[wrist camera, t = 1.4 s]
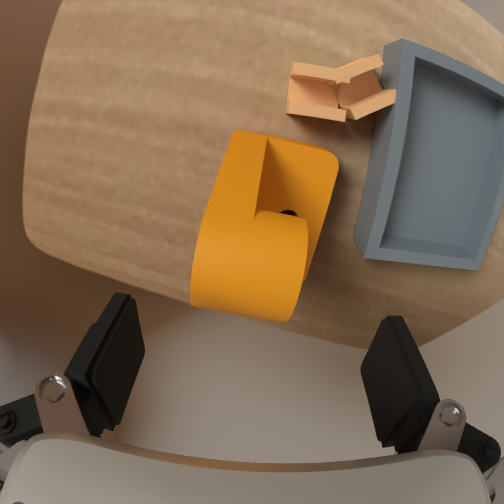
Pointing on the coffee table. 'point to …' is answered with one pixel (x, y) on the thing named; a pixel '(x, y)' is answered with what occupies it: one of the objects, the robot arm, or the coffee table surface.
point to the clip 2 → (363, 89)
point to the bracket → (262, 226)
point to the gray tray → (433, 162)
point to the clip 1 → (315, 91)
